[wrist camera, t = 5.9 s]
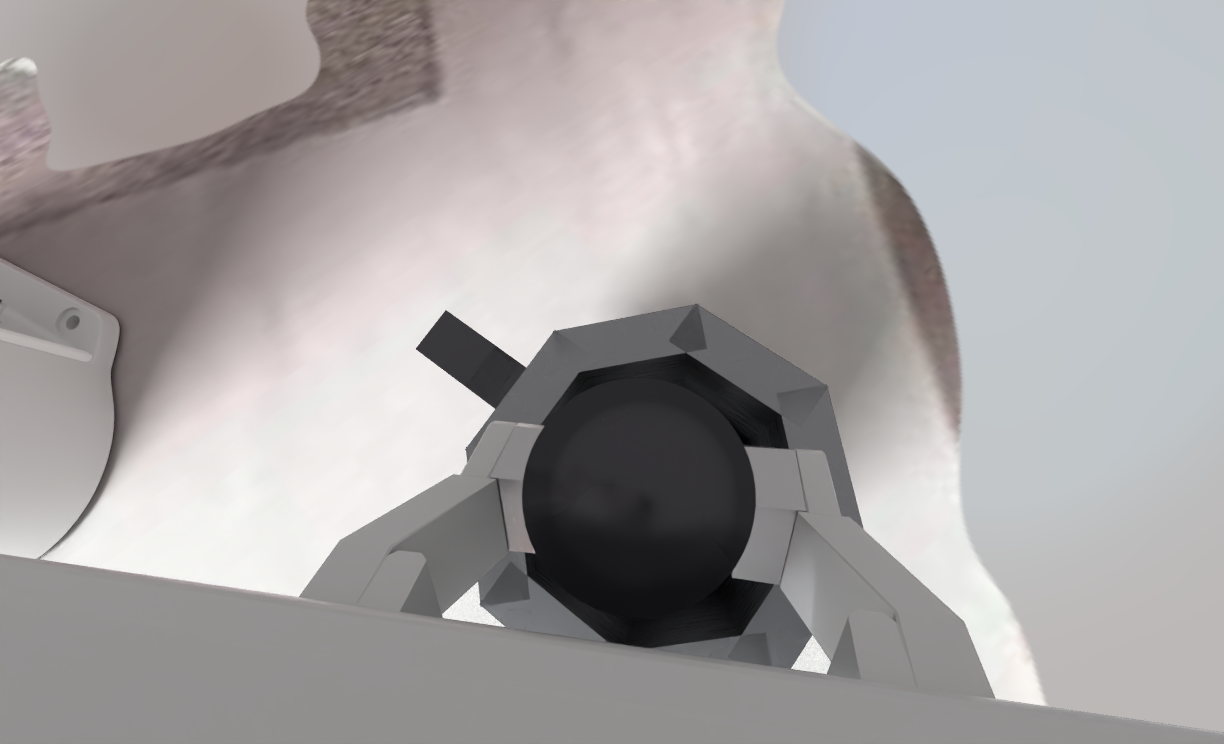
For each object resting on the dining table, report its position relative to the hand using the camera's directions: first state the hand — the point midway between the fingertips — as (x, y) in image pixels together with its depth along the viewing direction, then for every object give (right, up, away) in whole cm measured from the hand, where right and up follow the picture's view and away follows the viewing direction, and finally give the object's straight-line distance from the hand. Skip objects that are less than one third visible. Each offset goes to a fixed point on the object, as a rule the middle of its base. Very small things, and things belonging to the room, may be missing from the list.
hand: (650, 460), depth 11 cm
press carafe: (+1, -3, +16) cm, 17 cm away
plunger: (+1, -3, +10) cm, 11 cm away
